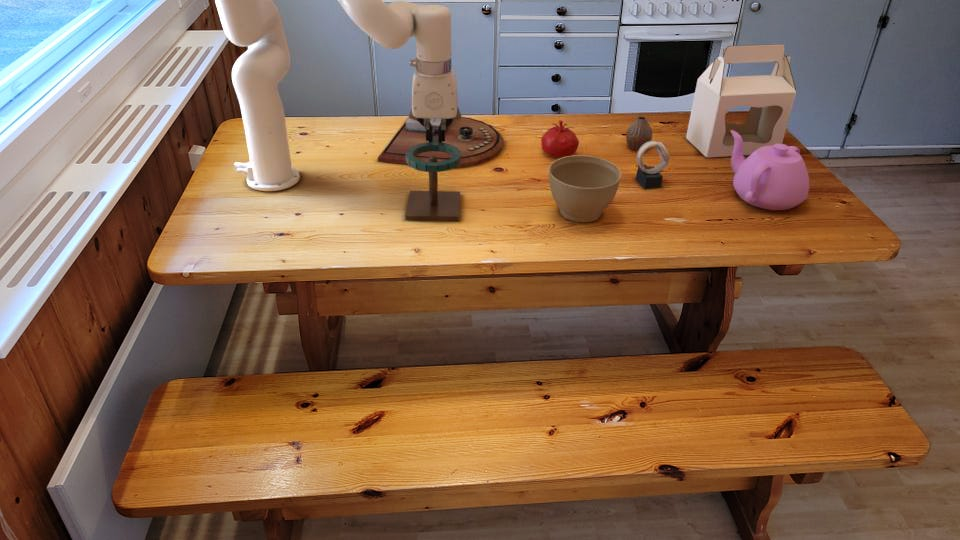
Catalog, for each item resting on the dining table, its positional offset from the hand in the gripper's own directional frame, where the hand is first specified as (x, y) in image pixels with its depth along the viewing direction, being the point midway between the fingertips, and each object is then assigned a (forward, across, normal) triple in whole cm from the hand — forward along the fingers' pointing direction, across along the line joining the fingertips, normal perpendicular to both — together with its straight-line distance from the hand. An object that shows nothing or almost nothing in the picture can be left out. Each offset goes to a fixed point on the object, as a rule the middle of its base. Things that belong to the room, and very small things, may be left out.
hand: (435, 143), depth 165 cm
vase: (+13, +54, +28) cm, 62 cm away
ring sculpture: (+13, +53, +7) cm, 55 cm away
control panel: (+13, +2, +28) cm, 30 cm away
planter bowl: (+13, +34, -9) cm, 37 cm away
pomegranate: (+13, +32, +23) cm, 41 cm away
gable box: (+13, +81, +31) cm, 87 cm away
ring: (0, 0, -7) cm, 7 cm away
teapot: (+13, +79, +2) cm, 80 cm away
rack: (+12, 0, -8) cm, 15 cm away
